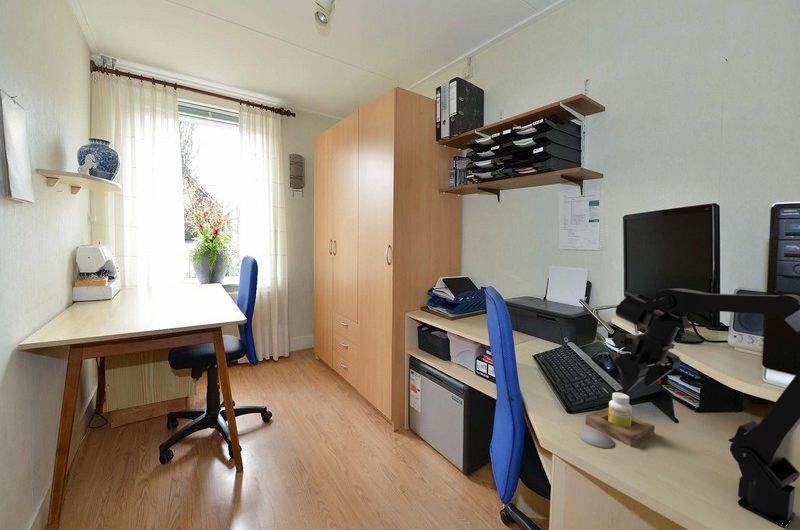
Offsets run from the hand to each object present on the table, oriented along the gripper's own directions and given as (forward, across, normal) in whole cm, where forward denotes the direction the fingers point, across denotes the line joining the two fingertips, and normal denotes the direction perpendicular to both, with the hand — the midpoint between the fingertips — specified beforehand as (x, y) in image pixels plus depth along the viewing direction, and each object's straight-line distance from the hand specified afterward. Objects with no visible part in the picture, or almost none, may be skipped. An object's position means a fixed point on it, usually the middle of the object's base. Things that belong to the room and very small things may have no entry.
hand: (635, 388), depth 87 cm
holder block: (+15, -3, -1) cm, 16 cm away
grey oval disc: (+15, +8, 0) cm, 17 cm away
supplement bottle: (+16, -3, -1) cm, 16 cm away
